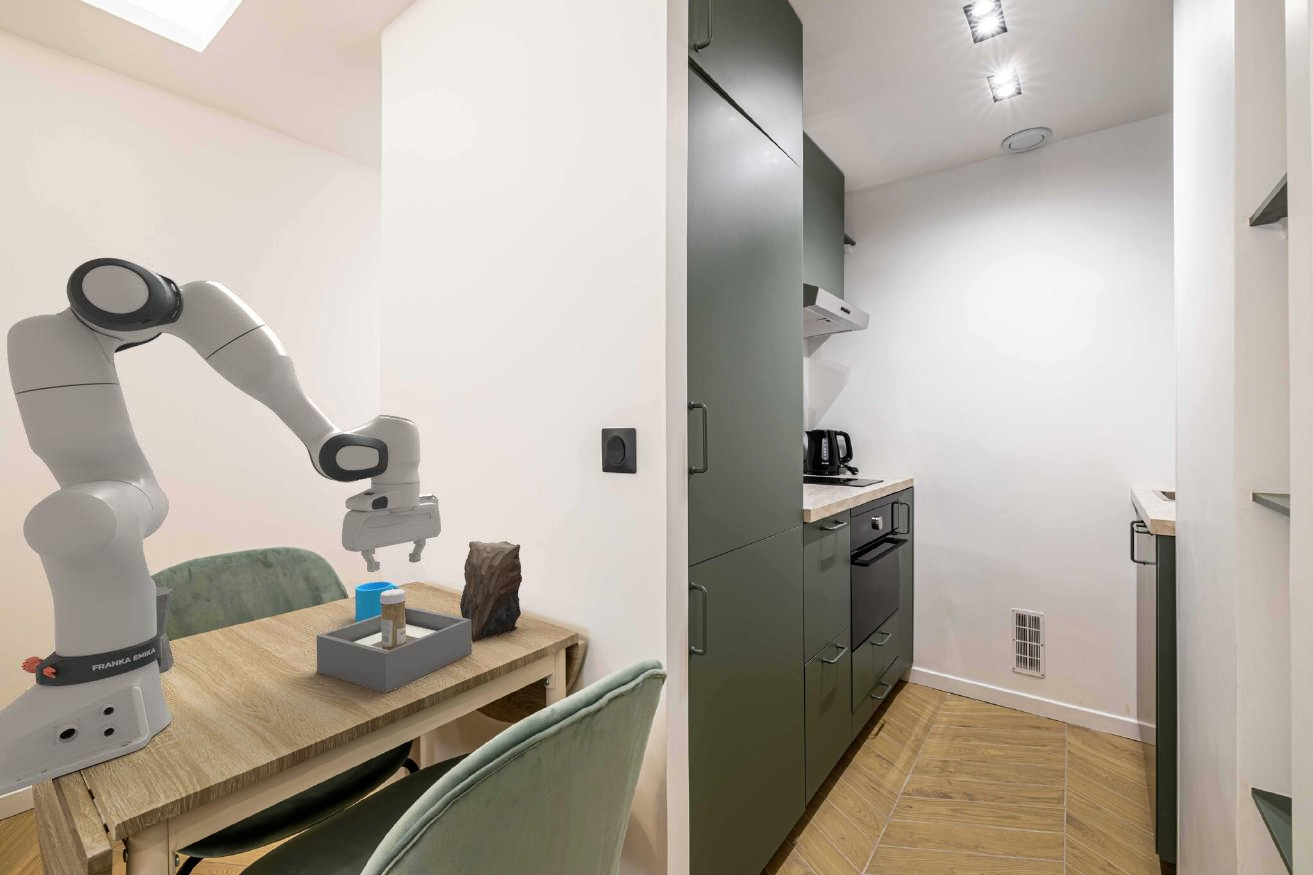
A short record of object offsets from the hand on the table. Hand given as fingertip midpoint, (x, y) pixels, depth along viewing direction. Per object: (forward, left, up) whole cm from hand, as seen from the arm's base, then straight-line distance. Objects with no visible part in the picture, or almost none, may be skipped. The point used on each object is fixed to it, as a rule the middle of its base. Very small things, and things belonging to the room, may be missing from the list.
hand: (394, 566), depth 111 cm
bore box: (0, 0, -19) cm, 19 cm away
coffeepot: (-26, +40, -20) cm, 51 cm away
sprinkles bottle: (-1, 0, -19) cm, 19 cm away
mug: (+17, +28, -20) cm, 38 cm away
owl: (+21, -3, -20) cm, 29 cm away
